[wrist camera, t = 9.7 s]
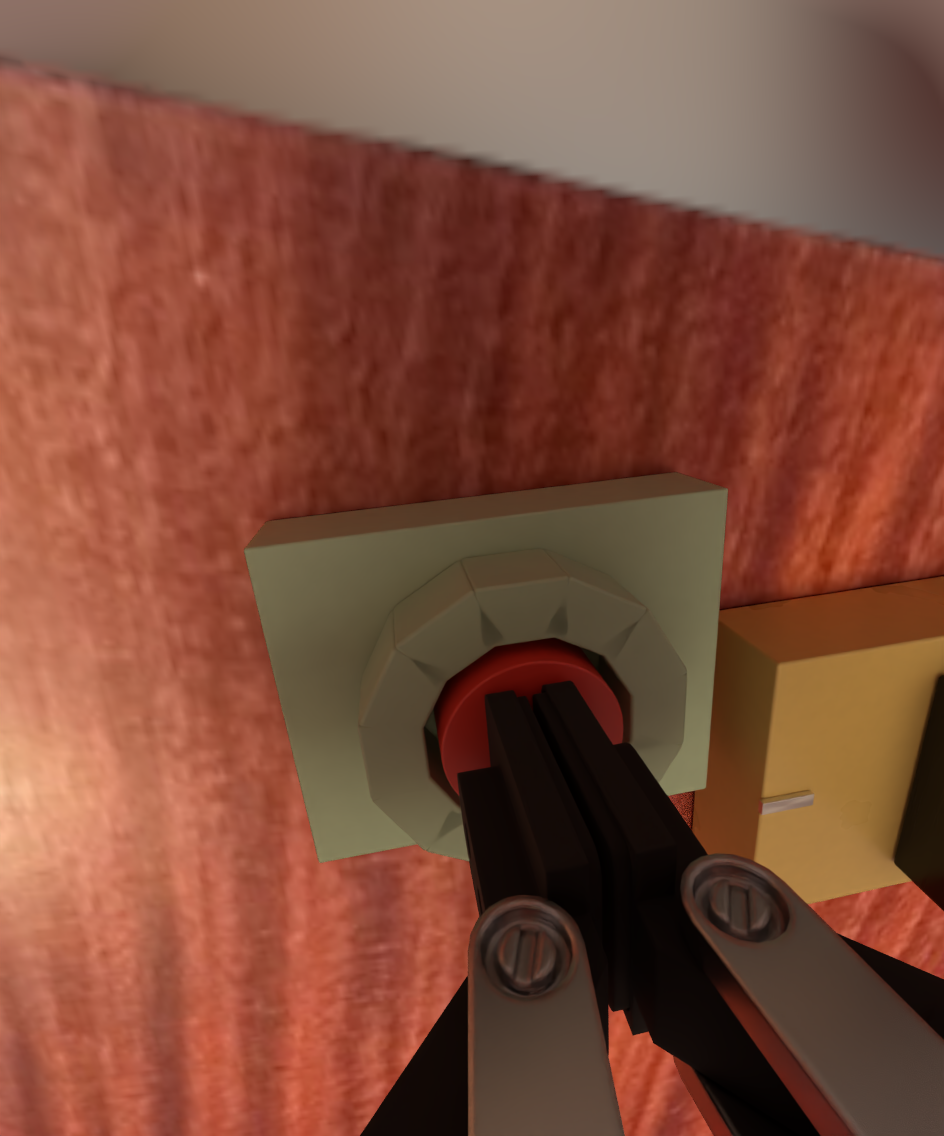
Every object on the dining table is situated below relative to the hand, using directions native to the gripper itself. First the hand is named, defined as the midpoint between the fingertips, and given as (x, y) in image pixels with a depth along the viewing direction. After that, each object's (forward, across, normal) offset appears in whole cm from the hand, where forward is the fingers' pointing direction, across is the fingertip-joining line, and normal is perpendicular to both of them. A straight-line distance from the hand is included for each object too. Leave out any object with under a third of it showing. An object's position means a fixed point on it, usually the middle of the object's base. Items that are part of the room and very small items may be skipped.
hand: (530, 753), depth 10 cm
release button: (+2, 0, 0) cm, 2 cm away
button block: (+4, 0, 0) cm, 4 cm away
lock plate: (+4, -11, +4) cm, 12 cm away
